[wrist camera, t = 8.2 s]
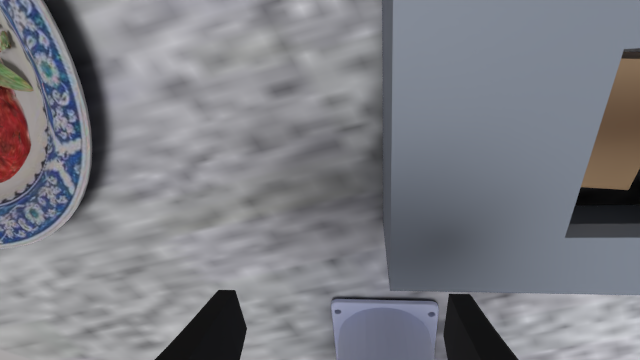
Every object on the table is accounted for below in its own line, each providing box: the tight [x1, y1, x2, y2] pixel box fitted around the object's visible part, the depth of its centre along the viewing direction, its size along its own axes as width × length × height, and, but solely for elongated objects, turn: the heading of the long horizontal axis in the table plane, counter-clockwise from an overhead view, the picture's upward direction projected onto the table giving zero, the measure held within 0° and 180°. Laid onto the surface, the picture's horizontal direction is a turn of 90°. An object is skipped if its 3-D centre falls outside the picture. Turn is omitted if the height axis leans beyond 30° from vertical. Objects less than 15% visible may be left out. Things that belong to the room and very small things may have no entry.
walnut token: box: [581, 52, 640, 190], centre depth 16 cm, size 6×4×3 cm, turn 179°
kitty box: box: [382, 0, 640, 295], centre depth 14 cm, size 14×20×6 cm
